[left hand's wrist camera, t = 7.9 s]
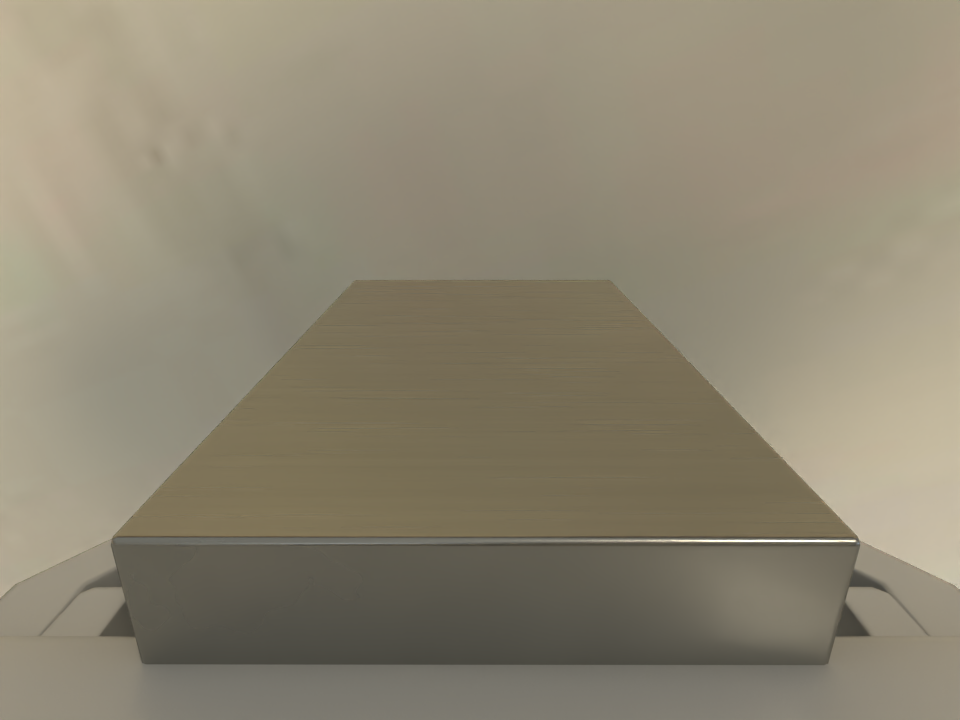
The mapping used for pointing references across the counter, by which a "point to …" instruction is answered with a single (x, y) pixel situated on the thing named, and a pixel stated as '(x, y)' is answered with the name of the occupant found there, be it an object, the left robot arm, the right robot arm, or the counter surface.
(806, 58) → the counter surface
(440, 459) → the bar
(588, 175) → the counter surface
